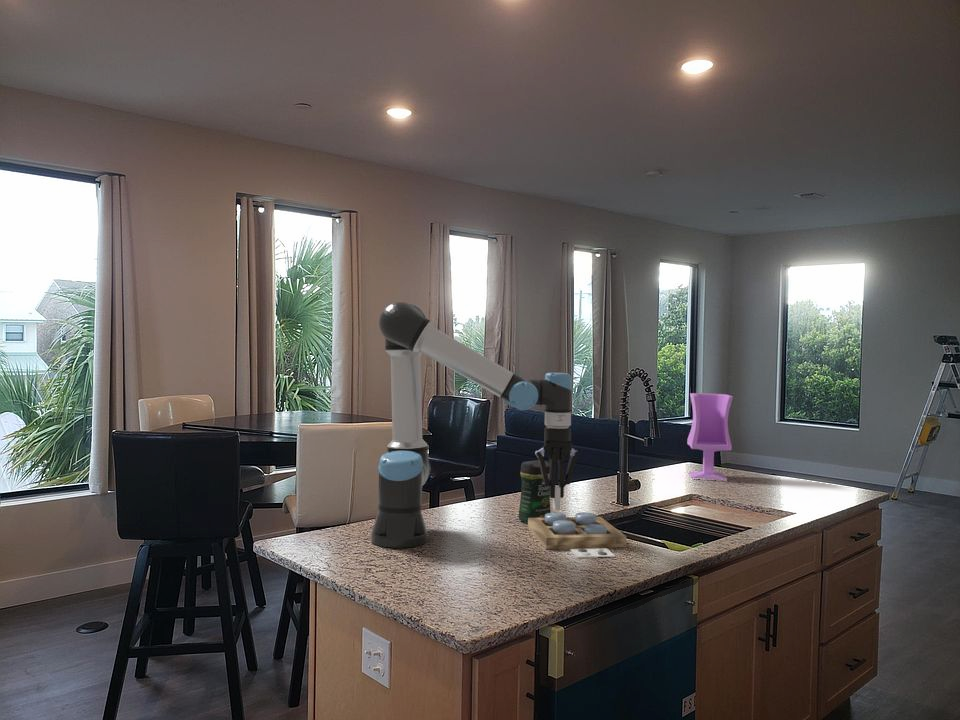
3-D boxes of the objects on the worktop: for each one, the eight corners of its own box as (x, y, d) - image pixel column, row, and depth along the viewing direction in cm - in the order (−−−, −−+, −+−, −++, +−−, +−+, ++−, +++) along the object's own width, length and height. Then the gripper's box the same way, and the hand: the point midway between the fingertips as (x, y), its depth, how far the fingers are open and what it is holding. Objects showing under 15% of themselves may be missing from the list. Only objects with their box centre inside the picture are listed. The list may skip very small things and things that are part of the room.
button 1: (547, 526, 201) (547, 517, 201) (542, 521, 207) (542, 512, 207) (568, 526, 202) (568, 517, 202) (562, 521, 208) (562, 512, 208)
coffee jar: (531, 526, 213) (533, 463, 212) (514, 520, 219) (515, 460, 219) (555, 521, 218) (556, 461, 218) (538, 516, 225) (539, 457, 224)
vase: (690, 480, 294) (693, 395, 294) (686, 473, 310) (688, 392, 309) (730, 482, 292) (733, 396, 291) (724, 475, 307) (726, 394, 306)
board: (546, 549, 188) (546, 537, 188) (527, 528, 210) (528, 517, 210) (626, 547, 192) (626, 536, 192) (600, 526, 213) (600, 516, 213)
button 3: (578, 526, 203) (578, 517, 203) (572, 521, 209) (572, 512, 208) (599, 525, 204) (599, 517, 203) (592, 520, 209) (592, 512, 209)
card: (577, 558, 181) (577, 556, 181) (569, 550, 188) (569, 548, 188) (615, 557, 182) (615, 555, 182) (606, 549, 189) (606, 547, 189)
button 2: (555, 535, 192) (556, 526, 192) (550, 529, 198) (550, 520, 198) (577, 534, 193) (577, 525, 193) (571, 529, 199) (571, 520, 199)
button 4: (588, 539, 194) (588, 530, 194) (581, 533, 200) (581, 524, 200) (609, 538, 195) (609, 529, 195) (602, 533, 201) (602, 524, 201)
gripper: (538, 428, 199) (537, 512, 200) (583, 428, 201) (582, 511, 202) (532, 425, 207) (531, 506, 207) (576, 425, 209) (574, 505, 209)
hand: (556, 509), depth 205 cm, fingers closed
